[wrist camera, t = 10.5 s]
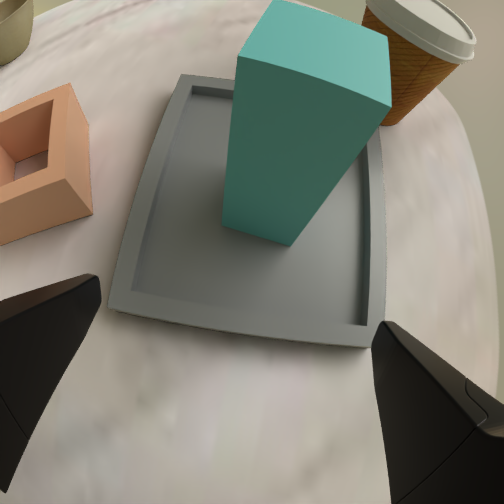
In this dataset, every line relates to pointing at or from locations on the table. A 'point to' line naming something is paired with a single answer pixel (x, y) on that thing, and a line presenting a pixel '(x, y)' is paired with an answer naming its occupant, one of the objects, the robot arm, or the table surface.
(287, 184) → the teal block
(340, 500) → the table surface
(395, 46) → the disposable coffee cup
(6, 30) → the flower pot
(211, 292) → the tray
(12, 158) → the holder
